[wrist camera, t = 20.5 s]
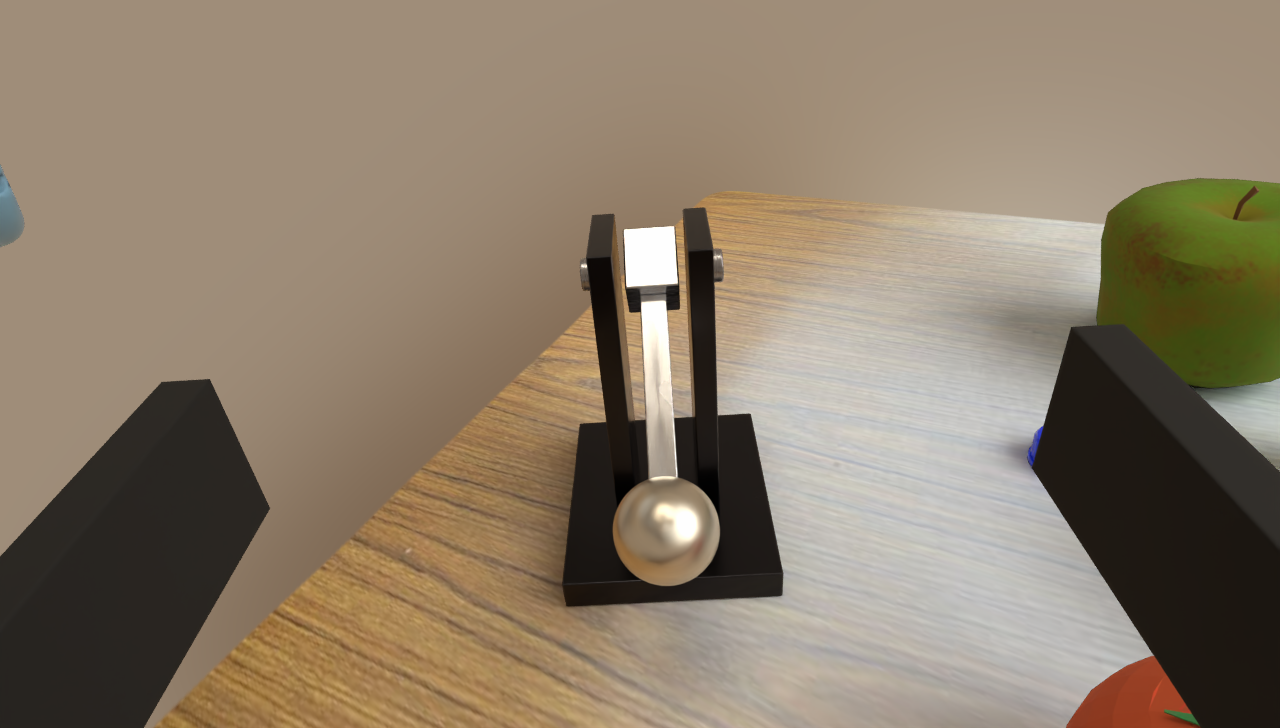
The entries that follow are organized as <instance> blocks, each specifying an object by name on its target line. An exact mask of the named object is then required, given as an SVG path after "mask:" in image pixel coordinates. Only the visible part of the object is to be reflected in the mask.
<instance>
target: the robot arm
mask: <svg viewBox="0 0 1280 728" xmlns="http://www.w3.org/2000/svg"><path fill="white" fill-rule="evenodd" d="M23 229H24V218H23V215H22V213H21V210H20V208H19V205H18V203H17V201H16V198H15V196H14V194H13V192H12V190H11V187H10V185H9V183H8V181H7V179H6V177H5V175H4V173H3V169H2V167H1V165H0V247H2V246H5V245H8V244H10V243H12V242H14V241H15V240H16V239H18V238H19V237H20V235H21V234H22V232H23ZM1032 469H1033V470H1034V472H1035V474H1036V475H1037V477H1038V478H1039V480H1040V481H1041V483H1042V484H1043V486H1044V487H1045V489H1046V490H1047V492H1048V494H1049V495H1050V497H1051V498H1052V500H1053V501H1054V503H1055V504H1056V506H1057V507H1058V509H1059V510H1060V512H1061V514H1062V515H1063V517H1064V518H1065V520H1066V521H1067V523H1068V524H1069V526H1070V527H1071V529H1072V530H1073V532H1074V533H1075V535H1076V537H1077V538H1078V540H1079V541H1080V543H1081V544H1082V546H1083V547H1084V549H1085V550H1086V552H1087V553H1088V555H1089V557H1090V558H1091V560H1092V561H1093V563H1094V564H1095V566H1096V567H1097V569H1098V570H1099V572H1100V573H1101V575H1102V577H1103V578H1104V580H1105V581H1106V583H1107V584H1108V586H1109V587H1110V589H1111V590H1112V592H1113V593H1114V595H1115V597H1116V598H1117V600H1118V601H1119V603H1120V604H1121V606H1122V607H1123V609H1124V610H1125V612H1126V613H1127V615H1128V616H1129V618H1130V620H1131V621H1132V623H1133V624H1134V626H1135V627H1136V629H1137V630H1138V632H1139V633H1140V635H1141V636H1142V638H1143V640H1144V641H1145V643H1146V644H1147V646H1148V647H1149V649H1150V650H1151V652H1152V653H1153V655H1154V656H1155V658H1156V660H1157V661H1158V663H1159V664H1160V666H1161V667H1162V669H1163V670H1164V672H1165V673H1166V675H1167V676H1168V678H1169V680H1170V681H1171V683H1172V684H1173V686H1174V687H1175V689H1176V690H1177V692H1178V693H1179V695H1180V696H1181V698H1182V699H1183V701H1184V703H1185V704H1186V706H1187V707H1188V709H1189V710H1190V712H1191V713H1192V715H1193V716H1194V718H1195V719H1196V721H1197V723H1198V724H1199V726H1200V727H1201V728H1280V471H1279V470H1278V469H1277V468H1275V467H1274V466H1273V465H1272V464H1271V463H1270V462H1269V461H1268V460H1267V459H1266V458H1265V457H1264V456H1263V455H1262V454H1261V453H1260V452H1259V451H1258V450H1256V449H1255V448H1254V447H1253V446H1252V445H1251V444H1250V443H1249V442H1248V441H1247V440H1246V439H1245V438H1244V437H1243V436H1242V435H1241V434H1240V433H1239V432H1237V431H1236V430H1235V429H1234V428H1233V427H1232V426H1231V425H1230V424H1229V423H1228V422H1227V421H1226V420H1225V419H1224V418H1223V417H1222V416H1221V415H1220V414H1218V413H1217V412H1216V411H1215V410H1214V409H1213V408H1212V407H1211V406H1210V405H1209V404H1208V403H1207V402H1206V401H1205V400H1204V399H1203V398H1202V397H1201V396H1199V395H1198V394H1197V393H1196V392H1195V391H1194V390H1193V389H1192V388H1191V387H1190V386H1189V385H1188V384H1187V383H1186V382H1185V381H1184V380H1183V379H1182V378H1180V377H1179V376H1178V375H1177V374H1176V373H1175V372H1174V371H1173V370H1172V369H1171V368H1170V367H1169V366H1168V365H1167V364H1166V363H1165V362H1164V361H1162V360H1161V359H1160V358H1159V357H1158V356H1157V355H1156V354H1155V353H1154V352H1153V351H1152V350H1151V349H1150V348H1149V347H1148V346H1147V345H1146V344H1145V343H1143V342H1142V341H1141V340H1140V339H1139V338H1138V337H1137V336H1136V335H1135V334H1134V333H1133V332H1132V331H1131V330H1130V329H1129V328H1128V327H1127V326H1126V325H1124V324H1116V325H1100V326H1083V327H1071V330H1070V334H1069V337H1068V341H1067V344H1066V348H1065V351H1064V355H1063V358H1062V362H1061V366H1060V369H1059V373H1058V376H1057V380H1056V383H1055V387H1054V391H1053V394H1052V398H1051V401H1050V405H1049V408H1048V412H1047V415H1046V419H1045V423H1044V426H1043V430H1042V433H1041V437H1040V440H1039V444H1038V448H1037V451H1036V455H1035V458H1034V462H1033V465H1032ZM269 509H270V507H269V505H268V503H267V501H266V499H265V497H264V494H263V493H262V490H261V488H260V486H259V484H258V482H257V480H256V477H255V476H254V473H253V471H252V469H251V467H250V464H249V462H248V460H247V458H246V456H245V454H244V452H243V450H242V447H241V445H240V443H239V441H238V439H237V437H236V434H235V432H234V430H233V428H232V426H231V424H230V422H229V419H228V417H227V415H226V413H225V411H224V409H223V407H222V404H221V402H220V400H219V398H218V396H217V394H216V392H215V390H214V387H213V385H212V383H211V381H210V379H205V380H188V381H171V382H161V384H160V385H159V386H158V387H157V388H156V389H155V390H154V391H153V392H152V393H151V394H150V395H149V396H148V398H147V399H146V400H145V401H144V402H143V403H142V404H141V405H140V406H139V407H138V408H137V409H136V410H135V412H134V413H133V414H132V415H131V416H130V417H129V418H128V419H127V420H126V421H125V422H124V423H123V424H122V426H121V427H120V428H119V429H118V430H117V431H116V432H115V433H114V434H113V435H112V436H111V437H110V439H109V440H108V441H107V442H106V443H105V444H104V445H103V446H102V447H101V448H100V449H99V451H97V453H96V454H95V455H94V456H93V457H92V458H91V459H90V460H89V461H88V462H87V463H86V465H85V466H84V467H83V468H82V469H81V470H80V471H79V472H78V473H77V474H76V475H75V476H74V477H73V478H72V480H71V481H70V482H69V483H68V484H67V485H66V486H65V487H64V488H63V489H62V490H61V492H60V493H59V494H58V495H57V496H56V497H55V498H54V499H53V500H52V501H51V502H50V503H49V504H48V505H47V507H46V508H45V509H44V510H43V511H42V512H41V513H40V514H39V515H38V516H37V517H36V519H34V521H33V522H32V523H31V524H30V525H29V526H28V527H27V528H26V529H25V530H24V531H23V533H22V534H21V535H20V536H19V537H18V538H17V539H16V540H15V541H14V542H13V543H12V544H11V545H10V546H9V548H8V549H7V550H6V551H5V552H4V553H3V554H2V555H1V556H0V728H144V726H145V725H146V723H147V721H148V719H149V718H150V716H151V714H152V713H153V711H154V709H155V707H156V706H157V704H158V702H159V700H160V698H161V697H162V695H163V693H164V692H165V690H166V688H167V686H168V685H169V683H170V681H171V679H172V678H173V676H174V674H175V673H176V671H177V669H178V667H179V665H180V664H181V662H182V660H183V658H184V657H185V655H186V653H187V652H188V650H189V648H190V647H191V645H192V643H193V641H194V639H195V638H196V636H197V634H198V632H199V631H200V629H201V627H202V626H203V624H204V622H205V620H206V619H207V617H208V615H209V614H210V612H211V610H212V608H213V607H214V605H215V603H216V601H217V599H218V598H219V596H220V594H221V592H222V591H223V589H224V587H225V586H226V584H227V582H228V581H229V579H230V577H231V575H232V573H233V572H234V570H235V568H236V567H237V565H238V563H239V561H240V560H241V558H242V556H243V554H244V553H245V551H246V549H247V548H248V546H249V544H250V542H251V541H252V539H253V537H254V535H255V533H256V532H257V530H258V528H259V526H260V525H261V523H262V521H263V520H264V518H265V516H266V514H267V513H268V511H269Z"/></svg>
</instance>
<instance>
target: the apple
mask: <svg viewBox="0 0 1280 728" xmlns="http://www.w3.org/2000/svg"><path fill="white" fill-rule="evenodd" d="M1096 319H1097V325H1098V326H1100V325H1116V324H1124V325H1126V326H1127V327H1128V328H1129V329H1130V330H1131V331H1132V332H1133V333H1134V334H1135V335H1136V336H1137V337H1138V338H1139V339H1140V340H1141V341H1142V342H1143V343H1145V344H1146V345H1147V346H1148V347H1149V348H1150V349H1151V350H1152V351H1153V352H1154V353H1155V354H1156V355H1157V356H1158V357H1159V358H1160V359H1161V360H1162V361H1164V362H1165V363H1166V364H1167V365H1168V366H1169V367H1170V368H1171V369H1172V370H1173V371H1174V372H1175V373H1176V374H1177V375H1178V376H1179V377H1180V378H1182V379H1183V380H1184V381H1185V382H1186V383H1187V384H1188V385H1190V386H1197V387H1205V388H1221V387H1235V386H1243V385H1250V384H1257V383H1264V382H1271V381H1273V380H1276V379H1278V378H1280V184H1279V183H1269V182H1259V181H1247V180H1238V179H1203V178H1197V179H1189V180H1181V181H1173V182H1166V183H1161V184H1157V185H1153V186H1150V187H1146V188H1142V189H1141V190H1139V191H1138V192H1136V193H1134V194H1133V195H1131V196H1129V197H1128V198H1126V199H1124V200H1123V201H1121V202H1120V203H1119V204H1118V205H1117V206H1115V207H1114V208H1113V209H1112V210H1110V211H1109V212H1108V215H1107V219H1106V223H1105V227H1104V231H1103V235H1102V239H1101V281H1100V290H1099V299H1098V307H1097V316H1096Z"/></svg>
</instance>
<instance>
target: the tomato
mask: <svg viewBox="0 0 1280 728" xmlns="http://www.w3.org/2000/svg"><path fill="white" fill-rule="evenodd" d="M1066 728H1201V727H1200V726H1199V724H1198V723H1197V721H1196V719H1195V718H1194V716H1193V715H1192V713H1191V712H1190V710H1189V709H1188V707H1187V706H1186V704H1185V703H1184V701H1183V699H1182V698H1181V696H1180V695H1179V693H1178V692H1177V690H1176V689H1175V687H1174V686H1173V684H1172V683H1171V681H1170V680H1169V678H1168V676H1167V675H1166V673H1165V672H1164V670H1163V669H1162V667H1161V666H1160V664H1159V663H1158V661H1157V660H1156V658H1155V656H1150V657H1148V658H1145V659H1143V660H1140V661H1138V662H1135V663H1133V664H1130V665H1127V666H1126V667H1124V668H1122V669H1121V670H1119V671H1118V672H1116V673H1114V674H1113V675H1111V676H1110V677H1108V678H1107V679H1106V680H1104V681H1103V682H1102V683H1100V684H1099V685H1098V686H1096V687H1095V688H1094V689H1092V690H1091V691H1090V693H1089V694H1088V696H1087V697H1086V698H1085V700H1084V701H1083V703H1082V704H1081V705H1080V707H1079V708H1078V709H1077V711H1076V712H1075V714H1074V715H1073V717H1072V718H1071V720H1070V721H1069V723H1068V724H1067V726H1066Z"/></svg>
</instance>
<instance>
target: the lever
mask: <svg viewBox="0 0 1280 728" xmlns="http://www.w3.org/2000/svg"><path fill="white" fill-rule="evenodd" d="M623 244H624V270H625V289H626V295H627V301H628V306H629V312H631V313H633V312H641V331H642V352H643V373H644V394H645V415H646V435H647V456H648V477H649V479H648V480H645V481H643V482H641V483H639V484H638V485H636V486H635V487H634V488H632V489H631V490H630V491H629V492H628V493H627V494H626V495H625V497H624V498H623V499H622V501H621V502H620V504H619V506H618V508H617V511H616V513H615V517H614V522H613V539H614V544H615V548H616V551H617V553H618V555H619V557H620V559H621V561H622V562H623V564H624V565H625V566H626V567H627V568H628V570H629V571H630V572H632V573H633V574H634V575H635V576H637V577H638V578H640V579H642V580H644V581H646V582H648V583H651V584H655V585H660V586H673V585H679V584H683V583H685V582H688V581H690V580H692V579H694V578H695V577H697V576H698V575H699V574H701V573H702V572H703V571H704V570H705V569H706V568H707V567H708V565H709V564H710V563H711V561H712V559H713V558H714V556H715V553H716V551H717V548H718V544H719V539H720V525H719V519H718V515H717V512H716V510H715V507H714V505H713V503H712V502H711V500H710V499H709V497H708V496H707V495H706V494H705V493H704V492H703V491H702V490H701V489H700V488H699V487H697V486H696V485H694V484H693V483H691V482H689V481H687V480H684V479H681V478H678V474H677V458H676V442H675V426H674V410H673V394H672V378H671V362H670V346H669V330H668V314H667V310H678V309H680V295H679V274H678V260H677V245H676V231H675V226H665V227H664V226H663V227H650V228H635V229H624V230H623Z"/></svg>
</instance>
